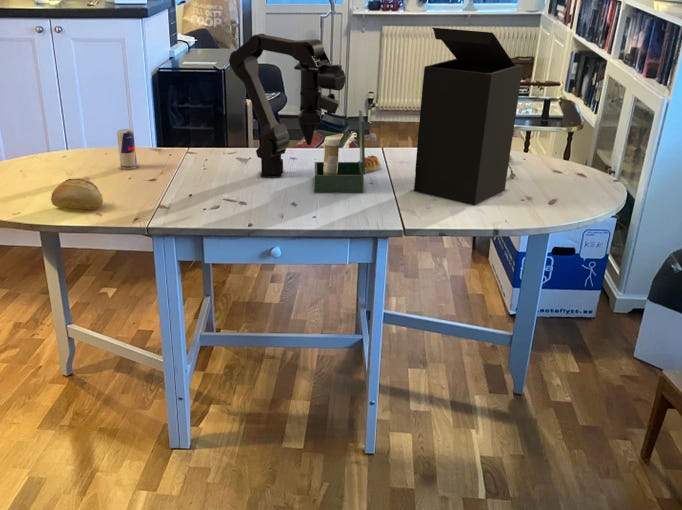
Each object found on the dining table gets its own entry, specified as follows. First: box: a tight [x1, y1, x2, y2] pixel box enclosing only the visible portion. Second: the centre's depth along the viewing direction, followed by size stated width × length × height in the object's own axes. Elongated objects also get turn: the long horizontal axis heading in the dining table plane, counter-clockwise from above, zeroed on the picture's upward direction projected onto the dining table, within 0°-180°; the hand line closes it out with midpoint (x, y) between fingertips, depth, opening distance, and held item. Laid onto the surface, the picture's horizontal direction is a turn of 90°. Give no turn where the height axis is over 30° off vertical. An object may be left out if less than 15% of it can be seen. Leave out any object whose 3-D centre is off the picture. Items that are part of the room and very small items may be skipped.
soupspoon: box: [508, 155, 517, 179], centre depth 240 cm, size 22×3×7 cm
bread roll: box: [50, 177, 104, 210], centre depth 212 cm, size 10×15×8 cm, turn 85°
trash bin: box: [413, 27, 524, 206], centre depth 210 cm, size 20×19×45 cm
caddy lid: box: [358, 109, 377, 175], centre depth 221 cm, size 15×14×4 cm
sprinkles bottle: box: [323, 136, 341, 175], centre depth 225 cm, size 5×5×13 cm
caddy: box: [314, 161, 365, 194], centre depth 227 cm, size 14×14×5 cm
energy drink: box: [116, 128, 138, 171], centre depth 245 cm, size 5×5×12 cm
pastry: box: [357, 155, 382, 174], centre depth 241 cm, size 9×7×4 cm
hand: (309, 140), depth 225 cm, fingers open, 9 cm apart
